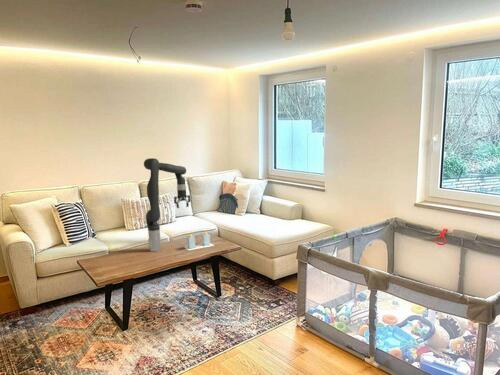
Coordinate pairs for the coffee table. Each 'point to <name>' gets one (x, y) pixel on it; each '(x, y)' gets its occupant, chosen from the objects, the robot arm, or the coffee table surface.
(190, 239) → the post
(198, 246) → the card
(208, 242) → the post
